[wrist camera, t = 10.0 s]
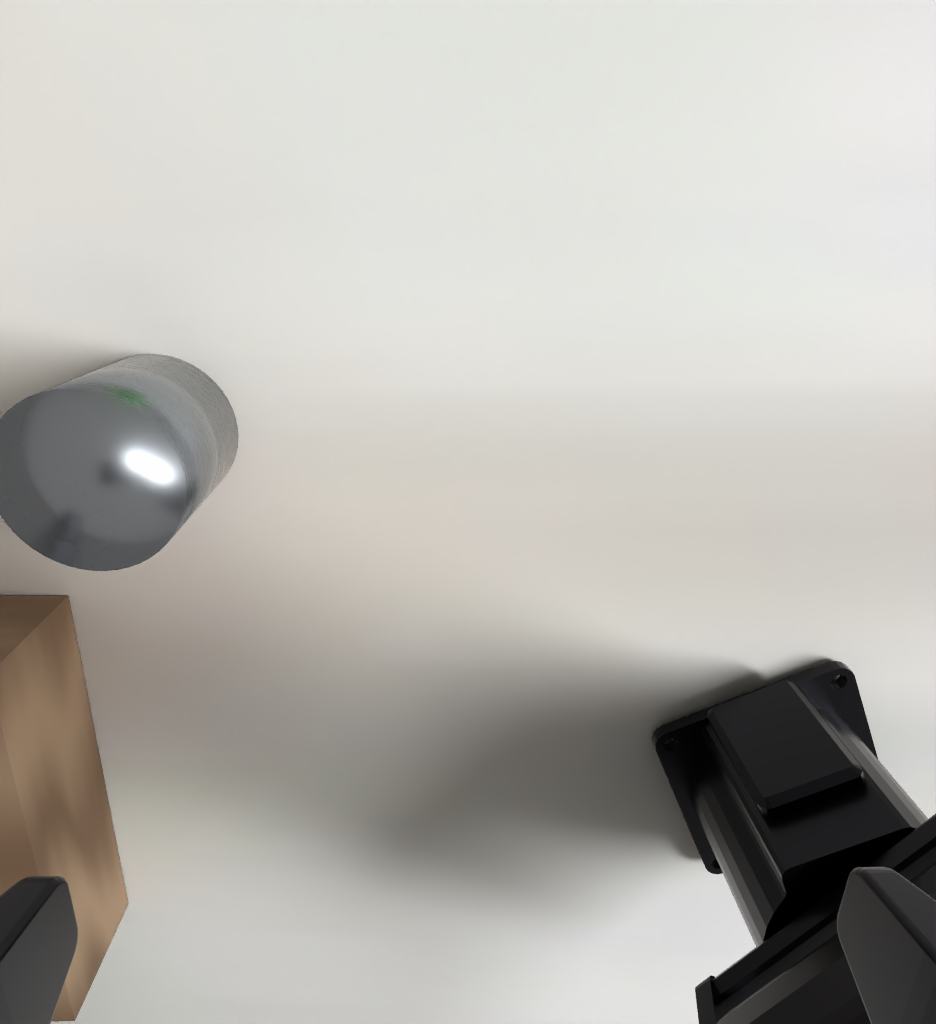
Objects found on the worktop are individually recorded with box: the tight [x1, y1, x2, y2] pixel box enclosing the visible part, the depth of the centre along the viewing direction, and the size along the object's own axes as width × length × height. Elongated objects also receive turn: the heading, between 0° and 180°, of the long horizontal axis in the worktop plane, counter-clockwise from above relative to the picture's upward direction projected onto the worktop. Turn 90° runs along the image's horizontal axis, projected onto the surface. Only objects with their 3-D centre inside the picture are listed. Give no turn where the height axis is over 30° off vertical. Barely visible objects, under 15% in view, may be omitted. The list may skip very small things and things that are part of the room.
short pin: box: [0, 354, 238, 571], centre depth 17 cm, size 4×4×4 cm
